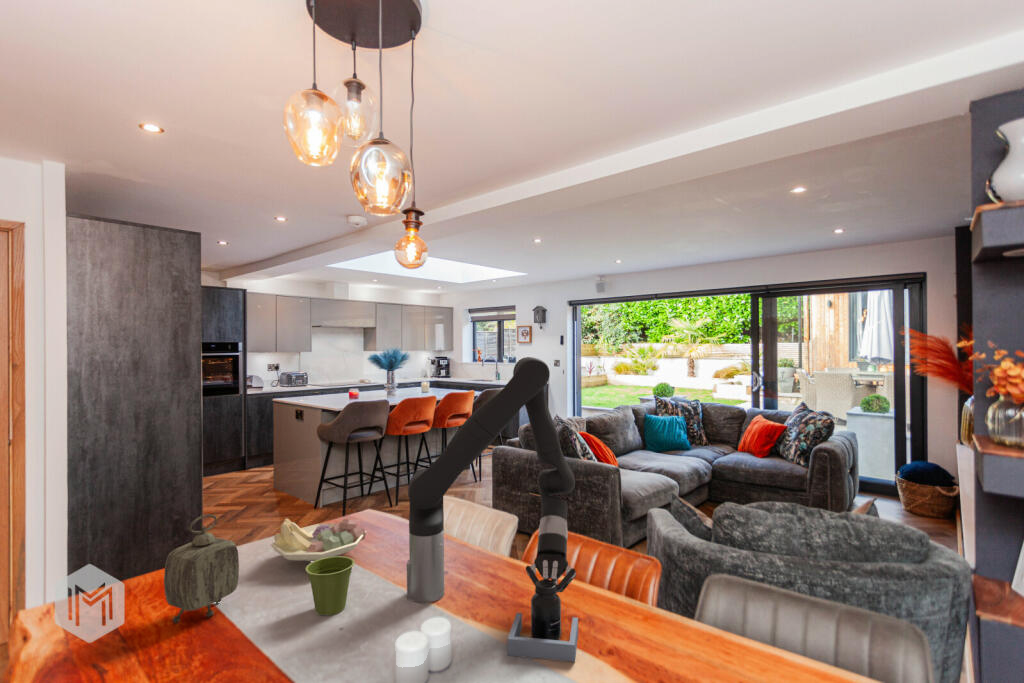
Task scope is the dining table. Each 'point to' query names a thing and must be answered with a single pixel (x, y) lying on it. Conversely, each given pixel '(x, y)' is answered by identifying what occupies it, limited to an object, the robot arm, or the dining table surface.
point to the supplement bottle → (546, 611)
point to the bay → (542, 644)
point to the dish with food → (317, 540)
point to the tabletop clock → (201, 571)
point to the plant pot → (330, 583)
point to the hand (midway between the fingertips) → (548, 609)
